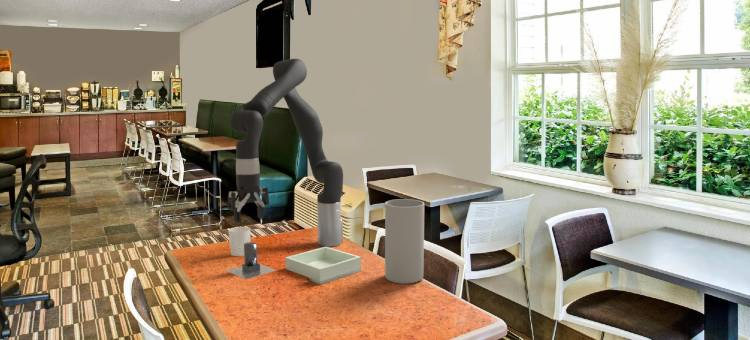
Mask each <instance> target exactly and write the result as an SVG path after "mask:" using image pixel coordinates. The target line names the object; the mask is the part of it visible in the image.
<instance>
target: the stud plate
mask: <svg viewBox="0 0 750 340" xmlns="http://www.w3.org/2000/svg"><path fill="white" fill-rule="evenodd" d="M257 263H258V264H260V271H256V272H253V273H247V272H245V271H242V266H238V267H234V268H231V269H227V270H226V272H228V273H230V274H233V275H234V276H237V277H239V278H242V279H244V280H249V279H252V278H256V277H259V276H262V275H265V274H266V275H267V274H269V273H272V272H276V271H277V270H276V269H275V268H271V267H270V266H269V267H268V266H266V265H264V264H261V263H259V262H257Z"/></svg>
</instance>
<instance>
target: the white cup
mask: <svg viewBox="0 0 750 340" xmlns="http://www.w3.org/2000/svg"><path fill="white" fill-rule="evenodd" d="M251 229H252V228H250V227H247V226H246V227H245V226H237V227H236V226H235V227H231V228H229V229H228V240H229V242H228V243H229V247H230V248H229V249H230V250H229V251H230V255H231V256H233V257H244V244H245V243H248V242H251Z"/></svg>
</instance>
